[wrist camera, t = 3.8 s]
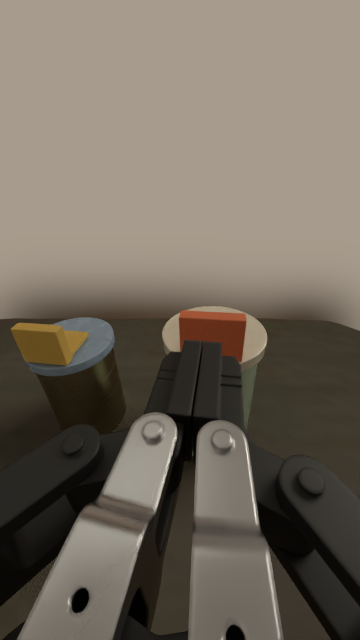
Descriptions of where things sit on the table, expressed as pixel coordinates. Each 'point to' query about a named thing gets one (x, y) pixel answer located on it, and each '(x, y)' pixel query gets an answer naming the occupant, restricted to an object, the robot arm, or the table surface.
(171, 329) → the sage cup
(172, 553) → the table surface
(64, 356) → the block
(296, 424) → the table surface
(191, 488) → the table surface
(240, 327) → the block
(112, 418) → the blue-grey lidded canister
